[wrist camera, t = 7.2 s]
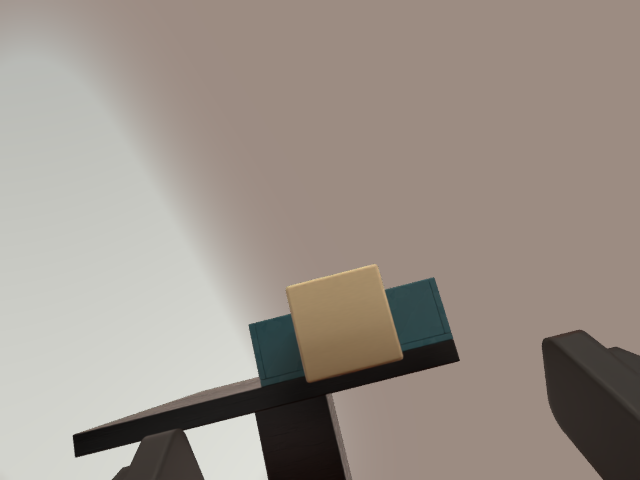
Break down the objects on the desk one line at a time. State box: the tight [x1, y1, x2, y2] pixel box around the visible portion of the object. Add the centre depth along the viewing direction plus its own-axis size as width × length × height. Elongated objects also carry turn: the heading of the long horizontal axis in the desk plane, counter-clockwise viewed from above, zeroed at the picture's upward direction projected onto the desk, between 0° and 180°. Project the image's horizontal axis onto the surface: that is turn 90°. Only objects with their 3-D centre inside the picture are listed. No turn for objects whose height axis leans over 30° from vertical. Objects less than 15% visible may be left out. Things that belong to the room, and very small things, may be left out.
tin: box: [249, 277, 453, 387], centre depth 29 cm, size 18×9×3 cm, turn 175°
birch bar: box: [286, 264, 403, 383], centre depth 24 cm, size 26×2×2 cm, turn 175°
